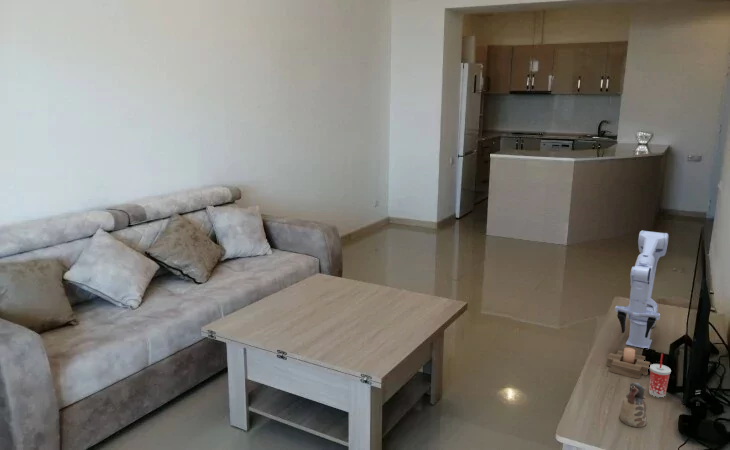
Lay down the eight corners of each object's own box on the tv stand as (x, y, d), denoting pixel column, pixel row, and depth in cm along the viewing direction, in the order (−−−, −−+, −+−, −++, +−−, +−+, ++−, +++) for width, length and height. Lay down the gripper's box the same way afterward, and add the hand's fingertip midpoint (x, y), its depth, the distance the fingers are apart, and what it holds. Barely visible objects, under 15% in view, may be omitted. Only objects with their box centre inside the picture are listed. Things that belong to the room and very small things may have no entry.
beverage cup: (667, 400, 177) (672, 359, 174) (645, 395, 180) (650, 355, 177) (668, 392, 182) (673, 352, 179) (647, 387, 185) (652, 347, 182)
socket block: (611, 356, 207) (612, 348, 206) (650, 365, 200) (651, 357, 199) (604, 370, 196) (605, 362, 196) (645, 380, 189) (646, 372, 189)
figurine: (651, 422, 165) (655, 385, 162) (636, 430, 161) (641, 392, 159) (628, 411, 171) (632, 375, 168) (614, 418, 167) (618, 381, 164)
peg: (623, 364, 201) (625, 346, 199) (634, 367, 199) (636, 349, 197) (621, 368, 198) (623, 350, 196) (632, 371, 196) (634, 352, 194)
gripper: (614, 298, 201) (611, 333, 204) (659, 306, 193) (655, 342, 196) (618, 292, 207) (614, 327, 210) (662, 300, 199) (658, 335, 202)
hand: (634, 334), depth 203 cm, fingers open, 7 cm apart
